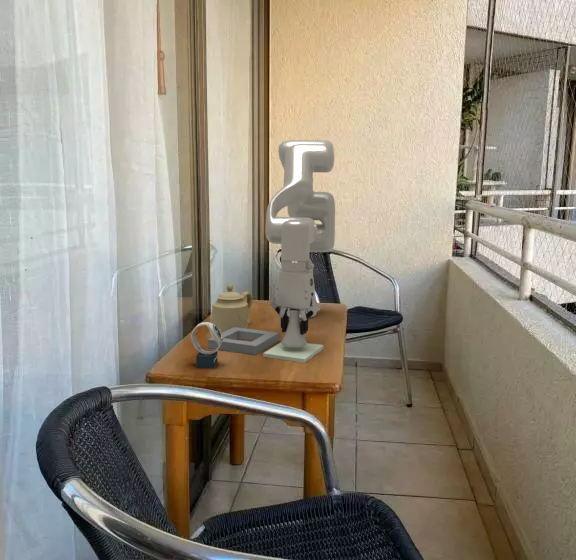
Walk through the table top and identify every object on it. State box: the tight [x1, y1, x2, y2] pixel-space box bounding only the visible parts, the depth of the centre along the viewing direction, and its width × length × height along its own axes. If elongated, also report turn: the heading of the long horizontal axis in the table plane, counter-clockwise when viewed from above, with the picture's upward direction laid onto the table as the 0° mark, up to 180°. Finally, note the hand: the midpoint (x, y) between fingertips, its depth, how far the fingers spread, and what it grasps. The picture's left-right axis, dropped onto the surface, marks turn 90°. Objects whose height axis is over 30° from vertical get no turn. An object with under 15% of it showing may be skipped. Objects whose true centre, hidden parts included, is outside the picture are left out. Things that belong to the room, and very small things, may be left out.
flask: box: [280, 308, 308, 348], centre depth 161 cm, size 7×7×10 cm
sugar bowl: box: [211, 282, 253, 333], centre depth 185 cm, size 15×11×15 cm
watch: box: [190, 321, 223, 369], centre depth 150 cm, size 6×8×11 cm
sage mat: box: [262, 342, 325, 364], centre depth 162 cm, size 14×12×1 cm
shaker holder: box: [207, 327, 280, 356], centre depth 169 cm, size 15×15×2 cm
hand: (294, 331), depth 161 cm, fingers closed on flask, 4 cm apart
